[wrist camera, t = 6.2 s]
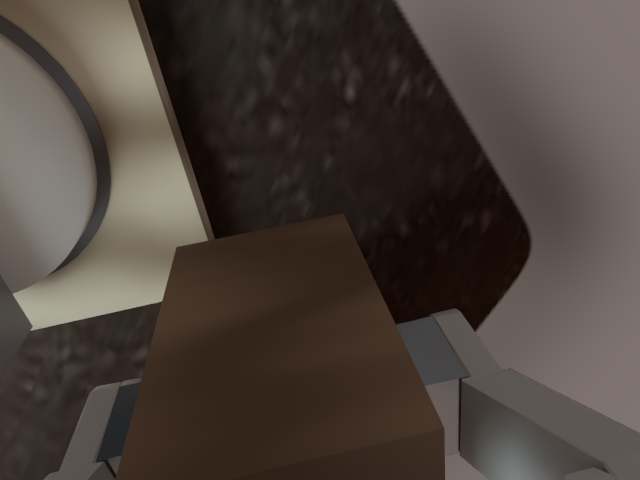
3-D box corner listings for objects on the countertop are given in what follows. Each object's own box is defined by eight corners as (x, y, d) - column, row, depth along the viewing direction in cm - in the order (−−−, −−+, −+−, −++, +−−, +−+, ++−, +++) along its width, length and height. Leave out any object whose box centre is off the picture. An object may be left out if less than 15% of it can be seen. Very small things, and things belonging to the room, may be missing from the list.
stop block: (343, 213, 10) (444, 428, 5) (359, 338, 11) (445, 586, 7) (176, 247, 9) (107, 507, 5) (220, 369, 11) (203, 648, 6)
